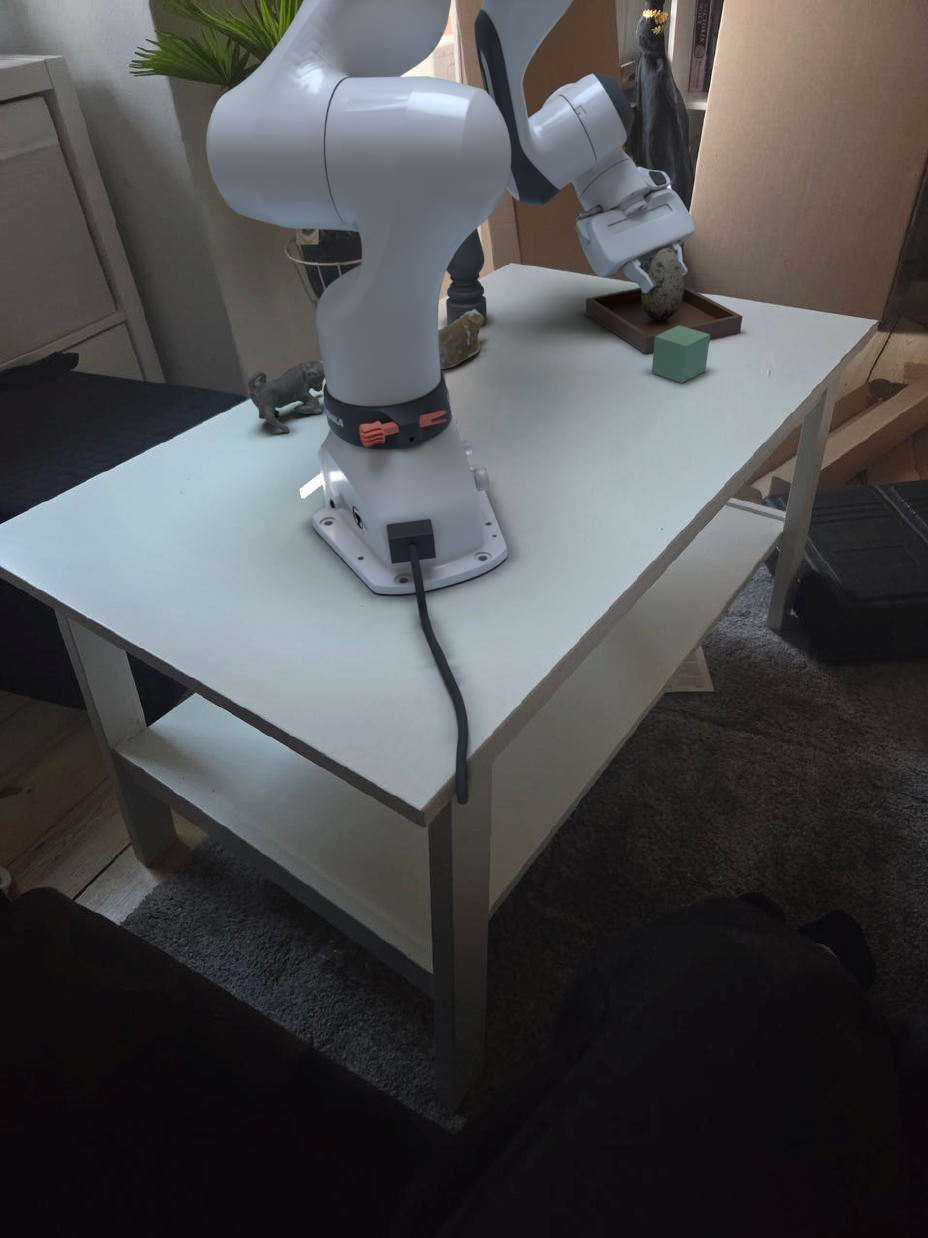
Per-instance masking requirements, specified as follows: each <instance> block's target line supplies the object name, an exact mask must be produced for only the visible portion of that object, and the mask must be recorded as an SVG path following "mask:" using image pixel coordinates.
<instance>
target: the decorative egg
mask: <svg viewBox="0 0 928 1238" xmlns="http://www.w3.org/2000/svg"><path fill="white" fill-rule="evenodd" d="M645 272H646V273H647V274H648V276H649V275H651V274H652V275H653V277H654V278H655V280H656V282H657V287H656V288H654V289H653V290H652V291H650V292H648V293H645V294H644V293H643V292H642V291H641V301H642V306H643V309H644V311H645V312H646V314H647V315H648V316H649V317H651V318H653V319H655V320H665V319H668V318H670V317H671V316H672V315H674V314H675V313H676V311H677V310H678V308H679V307H680V304H681V302H682V298H683V287H684V286H685V285H684V276H683V275H682V270H681V266H680V263H679V260H678V258H677V256H676V254H675V253H674V252H673V251H672V250H671V249H668V248H664V249H662V250H660V251H659V252H658V253H657V254H656V255H655V256H654V257H652V258H651V261H650V263H649V265H648V267H647V269H646V271H645ZM683 285H684V286H683Z"/></svg>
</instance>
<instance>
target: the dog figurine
mask: <svg viewBox="0 0 928 1238" xmlns="http://www.w3.org/2000/svg"><path fill="white" fill-rule="evenodd" d="M324 380H325V375H324V369H323V363H322V361H317V360H308V361H305V362H300V363H298V364H297V365H295V366H293V367H291V368H289V369H287V370H286V371H284V373H282V374H281V376H280V377H278V378H276V379H274V380H267V373H265V372H263V371H258V372H255V373H254V374H252V375H251V376H250V377H249V380H248V382H247V385H248V388H249V397H250V399H251V401H252V403H253V404H254V406H255V407H256V408H257V410H258V419H260V420H261V419H262V420H265V421H266V422H267V423H268V424H271V425H272V426H273V427H274V428H276V429H277V430H280V431H282V432H283V433H289V432H290V431H291V430H290V428H289V426H287V425H286V424H284V423H282V422H281V421H280V420H278V419H277V418H276V417H277V416H278V415H279V414H280V411H279V410H277V409H282V408H285V407H286V406H288V405H291V404H294V403H296V402H301V404H298V405H296V406H295V407H294V408H293V411H295V412H297V413H299V414H303V415H309V414H315V415H318V414H321V413H322V412H323V409H321V408H320V405H321V402H320V400H319V399H318V398H316V397H315V396H314V395H312V393H311V392H310V390H311V389H312V390H313V391H315V392H316V393H318V392H319V393H320V392H321V391H323V387H324V384H323V383H324Z"/></svg>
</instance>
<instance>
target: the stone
mask: <svg viewBox="0 0 928 1238" xmlns="http://www.w3.org/2000/svg"><path fill="white" fill-rule="evenodd" d="M483 321H484V318H483V316H482V315H481V314H480V313H479V312H477V311H476V310H475V309H474V310H472V311H468V312H466V313H465V314H464V315H463V316H461V317H460V318H459V319H457V320H455V321H454V322H453V323H452V324H450V325H448V324H447V325H445V326H443V327H441V328H440V329H438V339H439V359H440V370H446V369H450V368H452V367H456V366H457V365H459V364H460V363H462V362H463V361H465V360H467V359H469V358H471V357H473V356H474V355H477V353H479V351H480V350H481V348H480V340H479V334H480V329H481V327H482V326H481V325H482V323H483Z"/></svg>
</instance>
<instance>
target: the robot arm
mask: <svg viewBox="0 0 928 1238" xmlns="http://www.w3.org/2000/svg"><path fill="white" fill-rule="evenodd" d="M573 1H574V0H482V1H481V6H480V9H479V11H478V13H477V15H476V18H475V20H474V26H473V27H474V40H475V48H476V55H477V59H478V65H479V70H480V74H481V80H482V85H483V88H480V87H477V86H472V85H468V84H465V83H461V82H457V81H454V80H447V79H443V78H439V77H433V76H427V75H421V76H417V75H416V76H415V75H413V76H403V75H405V74H406V73H408V72H410V71H411V70H413V69H414V68H416V67H417V66H419V65H420V64H421V63H423V62H424V61H425V60H426V59H427V58H428V57H429V56H430V55H431V54H432V53H434V51H435V49H437V47H438V45H439V43H440V42H441V40H442V38H443V36H444V34H445V31H446V29H447V26H448V22H449V17H450V10H451V7H452V0H303V1H302V2H301V4H300V7H299V9H298V10H297V12H296V14H295V16H294V18H293V19H292V21H291V23H290V25H288V27H287V29H286V30H285V33H284V34H283V35H282V37H281V38H280V40H279V41H278V43H277V44H276V45H275V47H274V48H273V50H272V51H271V52H270V53H269V54H268V56H267V57H266V58H265V60H264V61H263V62H262V63H261V64H260V65H259V66H258V67H257V68H256V69H255V70H254V71H253V72H252V73H251V74H250V75H248V77H247V78H245V79H243V81H241V82H240V83H239V84H238V85H236V86H234V87H233V88H231V89H230V90H229V91H227V92H225V93H224V94H222V95H221V96H220V98H218V100H217V101H216V103H215V105H214V107H213V109H212V112H211V114H210V118H209V121H208V124H207V129H206V139H205V147H206V148H205V150H206V159H207V162H208V169H209V172H210V175H211V178H212V181H213V183H214V185H215V187H216V189H217V191H218V192H219V194H220V196H221V197H222V198H223V200H224V201H225V203H226V205H228V207H229V208H230V209H232V210H233V211H234V212H235V213H236V214H238V215H240V216H243V217H247V218H250V219H253V220H256V221H259V222H262V223H267V224H270V225H274V226H278V227H282V228H286V229H297V230H299V229H300V230H301V229H302V230H322V231H323V230H326V231H351V232H355V233H358V235H359V238H360V243H361V244H360V245H361V261H360V264H359V265H357V266H355V267H353V268H352V269H350V270H348V271H346V272H345V273H343V274H342V275H340V276H339V277H337V278H336V279H334V280H333V281H332V282H330V284H329V285H328V286H327V287H326V288H325V289H324V290H323V292H322V293H321V296H320V297H319V300H318V302H317V305H316V308H315V315H314V322H315V328H316V334H317V339H318V340H317V341H318V345H319V351H320V358H321V362H322V363H323V369H324V375H325V379H324V380H325V383H324V384H323V388H322V396H323V402H322V404H323V410H324V412H325V415H326V420H327V425H328V427H329V430H328V434H327V435H326V438H325V439H324V440H323V442H322V443H321V445H320V447H319V448H318V449H317V450H318V451H317V454H318V455H317V456H318V462H319V469H320V474H318V475H316V476H315V477H314V478H313V479H312V480H310V481H309V482H308V483H306V484H305V485H304V486H303V487H301V488H300V489H299V492H300V496H301V499H302V498H303V499H305V498H307V496H308V495H310V494H312V493H313V492H314V491H315V490H316V489H318V488H319V487H320V486H321V485H322V490H323V496H324V504H325V505H324V506H323V507H322V508H321V509H319V510H318V511H317V512H316V513H314V515H313V516H312V527H313V529H314V530H315V532H316V533H318V534H319V536H320V537H321V538H322V539H323V540H324V541H325V542H326V543H327V544H328V545H329V546H330V548H331V549H333V550H334V552H335V553H336V554H337V555H338V556H339V557H340V558H341V559H342V560H343V561H344V562H345V563H346V564H347V565H348V567H349V568H350V569H351V570H352V571H353V572H354V573H355V574H356V575H357V576H358V577H359V579H361V581H362V582H363V583H365V585H366V586H367V587H368V588H369V589H370V590H371V591H372V592H374V593H376V594H381V595H382V594H383V595H407V594H414V593H415V596H416V604H417V609H418V615H419V616H418V617H419V620H420V623H421V627H422V630H423V631H422V632H423V633H424V637H425V639H426V642H427V644H428V646H429V648H430V650H431V652H432V654H433V657H434V658H435V660H436V663H437V665H438V668H439V671H440V672H441V675H442V677H443V679H444V682H445V684H446V686H447V688H448V691H449V693H450V696H451V699H452V703H453V705H454V709H455V714H456V719H457V743H456V755H455V783H456V784H455V786H456V787H455V788H456V798H457V803H458V804H459V805H461V806H464V805H466V804H468V802H469V793H468V779H467V757H468V755H467V753H468V741H469V723H468V722H469V721H468V714H467V710H466V705H465V701H464V698H463V695H462V692H461V690H460V687H459V685H458V683H457V681H456V679H455V676H454V674H453V671H452V670H451V667H450V665H449V663H448V659H447V658H446V656H445V654H444V652H443V649H442V648H441V645H440V644H439V641H438V639H437V637H436V635H435V633H434V630H433V626H432V623H431V620H430V616H429V610H428V605H427V599H426V592H427V591H432V590H437V589H441V588H444V587H447V586H451V585H455V584H457V583H462V582H464V581H467V580H470V579H473V578H475V577H477V576H481V575H483V574H485V573H487V572H489V571H490V570H492V569H494V568H496V567H497V566H498V565H500V564H501V563H502V562H504V560H506V559H507V558H508V556H509V553H508V547H507V543H506V540H505V538H504V536H503V533H502V530H501V528H500V525H499V522H498V520H497V517H496V515H495V512H494V509H493V507H492V504H491V502H490V500H489V496H488V494H487V492H486V491H488V490H489V489H490V479H489V473H488V470H487V468H486V467H484V466H481V467H475V468H473V467H472V466H471V465H470V462H469V459H468V456H467V455H472V454H473V446H472V441H471V440H462V437H461V435H460V432H459V428H458V419H457V417H456V416H453V414H452V409H451V402H450V401H451V399H450V393H449V388H448V386H447V383H446V377H445V374H444V373H443V371H442V369H440V359H439V339H438V330H439V305H440V304H439V301H440V295H441V289H442V285H443V281H444V279H445V274H446V273H447V267H448V265H449V263H450V261H451V259H452V257H453V256H454V254H455V252H456V251H457V249H458V248H459V247H460V245H461V244H462V243H463V241H464V240H465V239H466V238H467V237H468V236H469V235H470V234H471V233H472V232H473V231H474V230H475V229H476V228H477V229H478V228H479V227H480V226H482V225H483V224H484V223H485V222H486V221H488V219H489V218H490V217H491V215H492V214H493V213H494V211H495V210H496V209H497V208H498V205H499V204H500V202H501V200H502V199H503V196H504V194H505V191H506V190H507V191H508V192H509V194H510V195H511V196H512V198H513V199H514V200H515V201H516V202H517V203H519V204H522V205H527V206H536V207H537V206H538V207H539V206H540V207H544V206H545V205H546V204H547V203H549V201H551V200H552V199H553V198H554V197H556V196H557V195H558V194H559V193H560V192H561V191H562V189H564V188H566V187H567V186H568V185H569V184H572V186H573V187H574V190H575V193H576V196H577V199H578V201H579V203H580V205H581V206H582V208H583V211H579V212H578V213H577V214H576V215H575V219H574V225H573V228H574V230H575V231H576V234H577V235H578V239H579V243H580V247H581V249H582V250H583V253H584V255H585V257H586V260H587V261H588V263H589V266H590V268H591V269H592V271H593V273H595V275H597V276H598V277H600V278H602V279H604V278H607V277H609V276H611V275H614V274H617V273H619V272H621V271H622V272H623V274H624V276H625V277H626V278H628V279H629V280H630V281H632V282H633V283H635V284H636V285H638V288H641V290H642V292H643V293H644V294H645V293H648V292H650V291H652V290H653V289H654V288H656V287H657V282H656V280H655V278H654V277H653V275H652V274H651V275H649V276H648V274H647V273H646V272H647V271H645V270H643V269H642V268H641V266H642V264H641V263H642V262H645V261H648V260H650V259H653V258H654V256H655V255H656V254H657V253H658V252H659V251H660V250H662V249H664V248H668V249H671V250H672V251H673V252H674V253H675V254H676V256H677V258H678V260H679V263H680V266H681V270H682V275H683V277H684V276H685V275H686V274H688V267H687V266H686V264H685V263H684V261H683V260H684V259H683V252H682V251H683V249H682V245H683V244H684V243H685V242H687V241H688V240H689V239H690V238H691V237H692V236H693V235H694V234H695V230H696V228H695V222H694V220H693V218H692V216H691V214H690V212H689V211H688V209H687V207H686V205H685V203H684V202H683V200H682V199H681V197H680V196H679V194H678V193H677V192H676V191H675V190H673V189H672V188H669V186H670V185H671V183H672V182H671V178H670V177H669V175H668V174H667V172H665V171H663V170H654V169H648V168H644V167H642V166H637V165H636V164H635V162H634V160H633V159H632V157H630V156H629V155H628V154H627V153H626V152H625V150H624V149H623V145H624V144H625V143H627V141H628V138H629V135H630V134H631V133H630V132H631V130H632V125H633V122H634V119H635V112H634V109H633V107H632V105H631V103H630V101H629V100H628V98H627V96H626V94H625V93H624V91H623V90H622V88H621V86H620V84H619V83H618V81H617V80H616V78H615V77H613V76H610V75H608V74H605V73H601V72H591V73H590V74H588V75H585V76H583V77H582V78H580V79H579V80H578V81H576V82H572V83H568V84H564V85H563V86H561V87H559V88H557V89H556V90H554V91H553V93H551V94H550V95H549V97H547V99H546V101H545V102H544V103H543V105H542V107H541V109H539V110H538V111H536V112H535V113H534V114H532V115H531V116H530V117H529V115H528V109H527V103H526V98H525V93H524V92H525V91H524V77H525V73H526V71H527V68H528V65H529V63H530V61H531V60H532V58H533V57H534V55H535V53H536V52H537V50H538V49H539V47H540V46H541V44H542V43H543V41H544V40H545V38H546V37H547V36H548V34H549V33H550V32H551V31H552V29H553V28H554V27H555V25H557V23H558V22H559V21H560V19H562V18H563V17H564V15H565V13H566V12H567V11H568V9H569V8H570V6H571V5H572V3H573Z"/></svg>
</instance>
